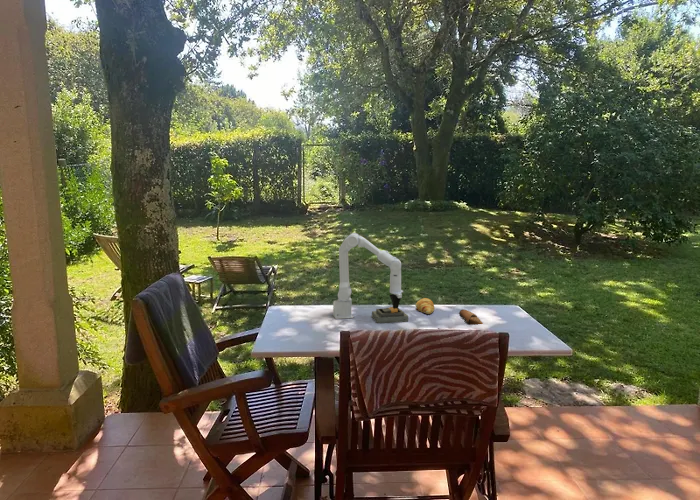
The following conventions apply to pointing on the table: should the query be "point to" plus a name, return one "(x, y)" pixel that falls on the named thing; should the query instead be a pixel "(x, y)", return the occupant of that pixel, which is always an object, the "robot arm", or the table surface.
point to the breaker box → (389, 316)
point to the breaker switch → (389, 310)
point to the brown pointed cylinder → (470, 317)
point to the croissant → (425, 305)
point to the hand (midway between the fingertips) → (395, 308)
